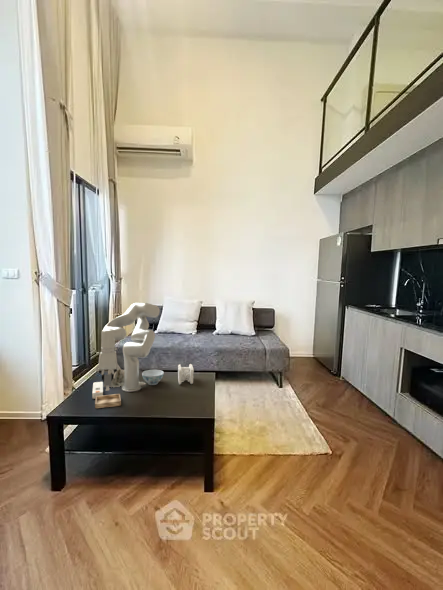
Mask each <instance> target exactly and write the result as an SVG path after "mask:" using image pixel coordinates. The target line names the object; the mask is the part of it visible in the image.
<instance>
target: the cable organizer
mask: <svg viewBox="0 0 443 590" xmlns="http://www.w3.org/2000/svg"><path fill="white" fill-rule="evenodd" d="M181 365H182V364H178V366H177V380H178V385H181V384H182V383H185V381H187V382H189V383H190V385H192V384H194V372H195V370H194V367H193V364H192V363H190V364H189V365H188V366H181Z"/></svg>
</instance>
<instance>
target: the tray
mask: <svg viewBox="0 0 443 590" xmlns="http://www.w3.org/2000/svg"><path fill="white" fill-rule="evenodd" d="M120 406H122V399H121V393H114V394H106V395H104V394H103V396H96V399H95V400H94V408H95V409H101V408H102V409H103V408H109V407H110V408H111V407H120Z"/></svg>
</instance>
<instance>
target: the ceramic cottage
mask: <svg viewBox="0 0 443 590" xmlns="http://www.w3.org/2000/svg"><path fill="white" fill-rule="evenodd" d="M114 370H115V369H114ZM111 373H112V370H111V369H109V370H108V371H107V374H111ZM120 386H121V387H122V386H124V369H122V368H121V367H120V369H119V370H117V371H116V372H115V373H114V379H112V381H111V388H112V387H113V389H115V388H120Z"/></svg>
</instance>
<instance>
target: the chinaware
mask: <svg viewBox="0 0 443 590" xmlns="http://www.w3.org/2000/svg"><path fill="white" fill-rule="evenodd" d="M164 374H165V372H164V371H163V370H160V369H149V370H144V371H143V372H141V375H142V378H143V381H144V382H146V384H147V385H150V386H155V385H158V383H159V382H160V381H161V380H162V379H163V377H164Z"/></svg>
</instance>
